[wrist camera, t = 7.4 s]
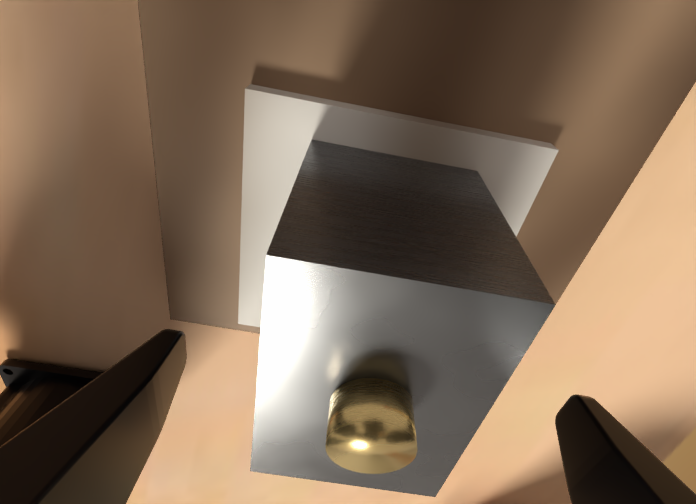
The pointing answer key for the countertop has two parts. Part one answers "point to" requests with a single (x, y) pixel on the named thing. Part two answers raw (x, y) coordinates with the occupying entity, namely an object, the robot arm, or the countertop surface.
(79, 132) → the countertop surface
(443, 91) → the base
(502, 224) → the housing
